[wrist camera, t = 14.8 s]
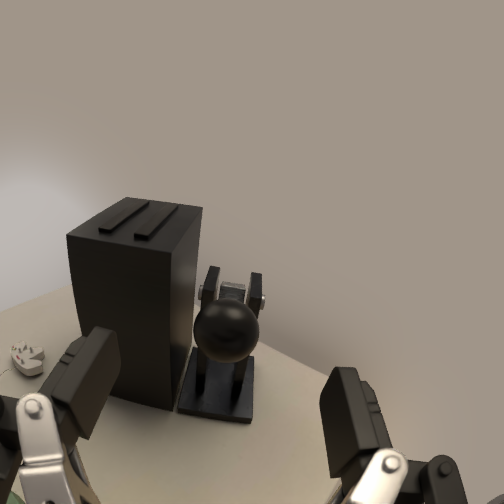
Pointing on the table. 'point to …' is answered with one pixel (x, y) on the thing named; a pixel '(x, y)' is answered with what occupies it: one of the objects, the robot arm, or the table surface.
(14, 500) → the control block
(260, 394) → the table surface
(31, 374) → the game controller
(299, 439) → the table surface
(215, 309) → the toaster lever
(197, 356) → the lever bracket
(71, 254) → the toaster
